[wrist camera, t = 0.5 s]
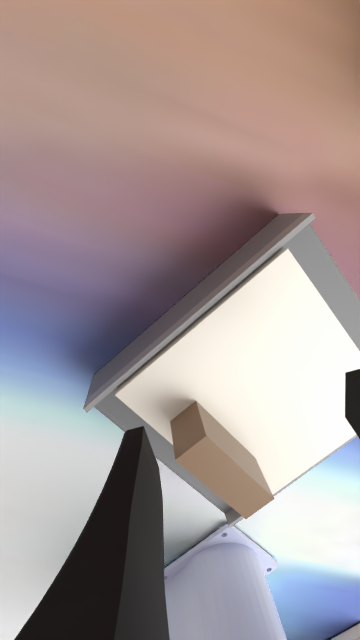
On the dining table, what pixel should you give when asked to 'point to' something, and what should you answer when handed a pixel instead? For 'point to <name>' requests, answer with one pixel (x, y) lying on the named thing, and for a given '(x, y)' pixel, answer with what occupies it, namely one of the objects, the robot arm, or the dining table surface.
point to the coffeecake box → (349, 634)
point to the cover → (251, 386)
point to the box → (278, 233)
